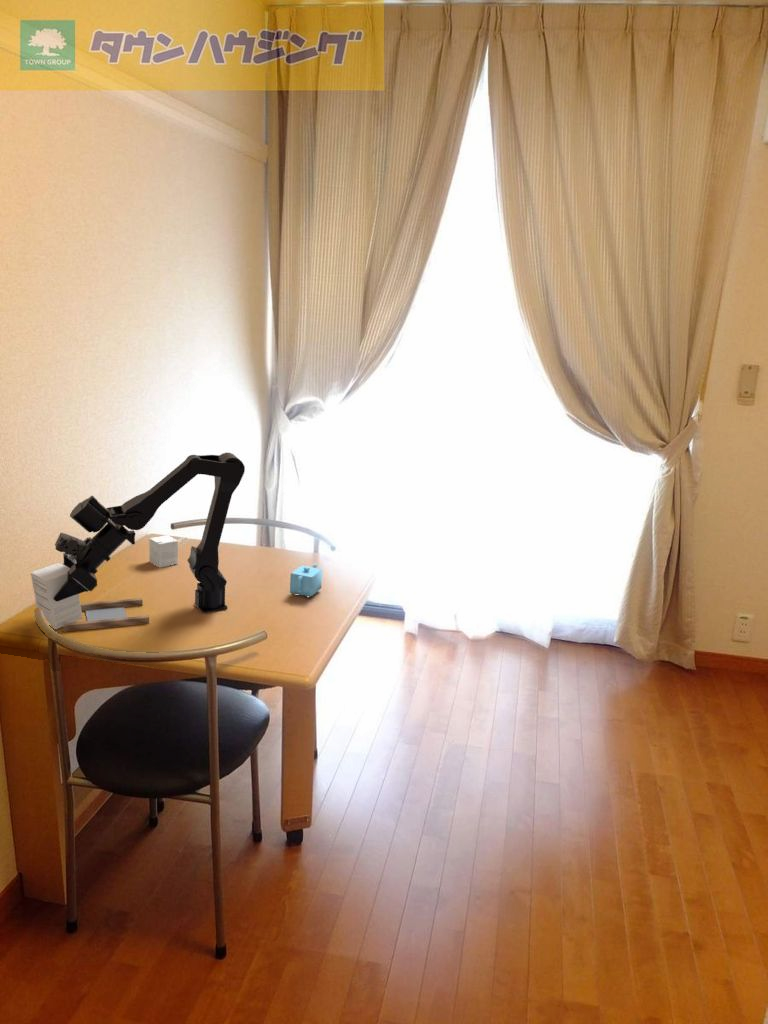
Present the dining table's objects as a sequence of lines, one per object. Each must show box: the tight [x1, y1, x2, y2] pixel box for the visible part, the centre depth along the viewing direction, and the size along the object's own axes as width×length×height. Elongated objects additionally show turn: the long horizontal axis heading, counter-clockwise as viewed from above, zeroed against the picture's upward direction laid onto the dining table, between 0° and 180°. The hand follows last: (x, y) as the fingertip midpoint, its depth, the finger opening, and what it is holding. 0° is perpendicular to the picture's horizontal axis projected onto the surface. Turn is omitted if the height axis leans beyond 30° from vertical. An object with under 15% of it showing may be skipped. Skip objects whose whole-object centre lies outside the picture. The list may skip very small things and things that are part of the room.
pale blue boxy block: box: [289, 562, 323, 597], centre depth 218 cm, size 12×6×8 cm, turn 162°
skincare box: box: [148, 534, 179, 569], centre depth 231 cm, size 6×6×7 cm
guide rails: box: [62, 597, 150, 633], centre depth 194 cm, size 19×12×2 cm, turn 114°
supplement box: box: [30, 562, 84, 630], centre depth 188 cm, size 7×7×13 cm
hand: (53, 592), depth 187 cm, fingers closed on supplement box, 9 cm apart
